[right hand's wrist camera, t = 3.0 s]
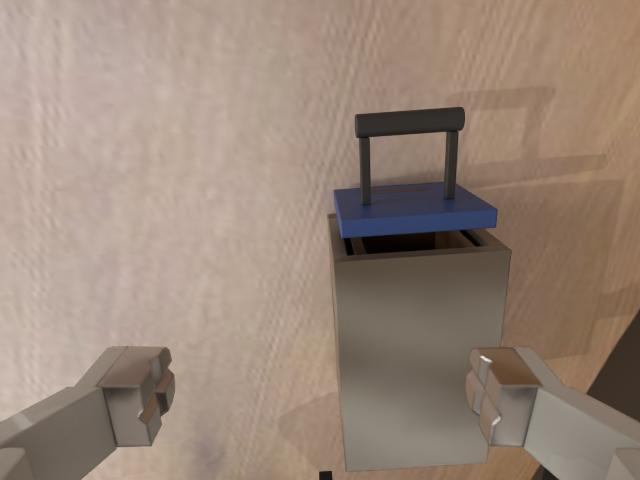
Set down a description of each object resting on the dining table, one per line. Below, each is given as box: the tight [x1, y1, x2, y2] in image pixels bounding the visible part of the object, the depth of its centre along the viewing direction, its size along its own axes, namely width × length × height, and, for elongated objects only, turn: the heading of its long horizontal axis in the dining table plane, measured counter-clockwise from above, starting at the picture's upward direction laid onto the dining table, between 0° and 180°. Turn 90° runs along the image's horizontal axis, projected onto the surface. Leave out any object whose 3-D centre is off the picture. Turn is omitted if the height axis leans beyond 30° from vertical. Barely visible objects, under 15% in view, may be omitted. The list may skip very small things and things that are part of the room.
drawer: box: [334, 107, 498, 256], centre depth 29 cm, size 22×10×8 cm, turn 4°
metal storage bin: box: [327, 214, 511, 472], centre depth 31 cm, size 17×11×10 cm, turn 4°
